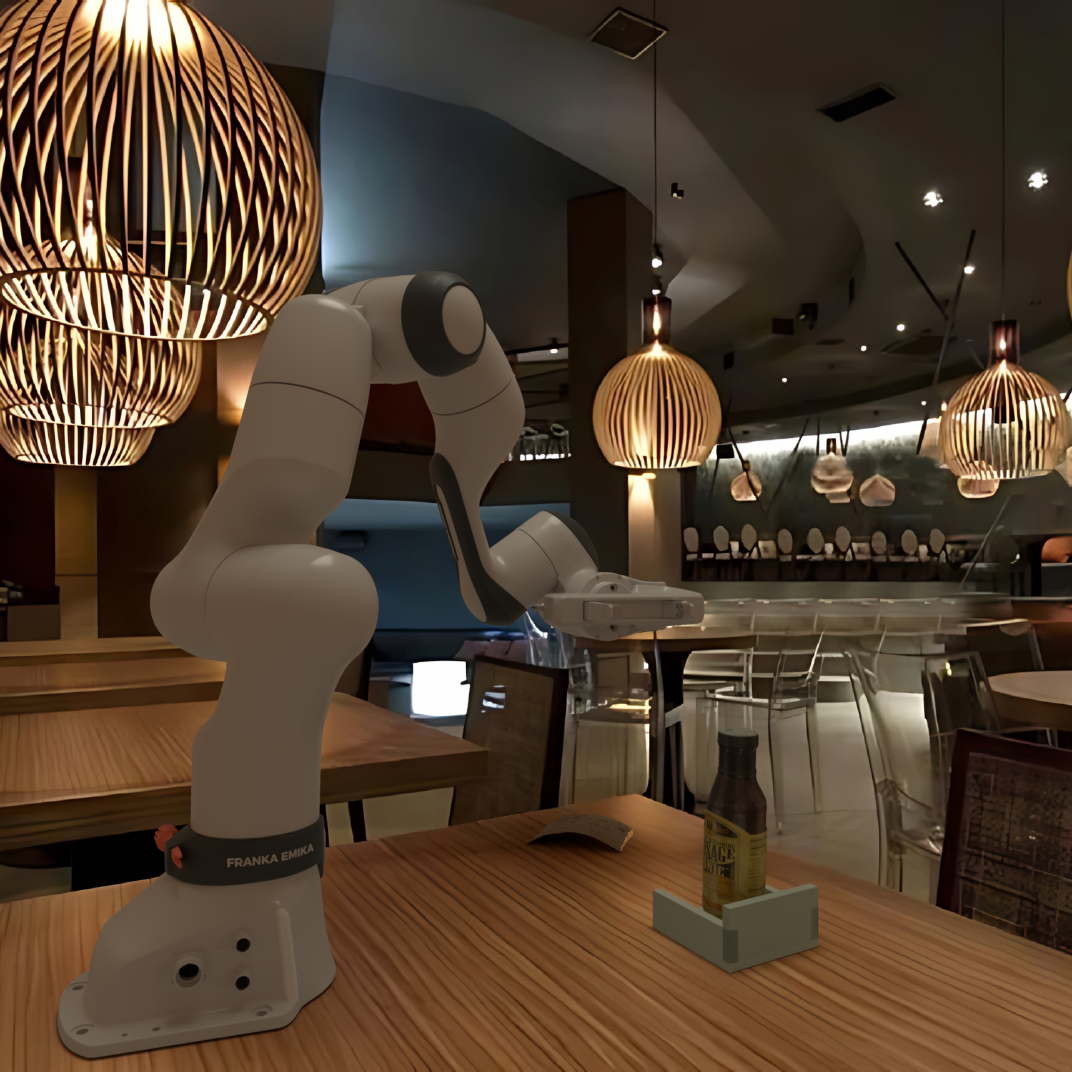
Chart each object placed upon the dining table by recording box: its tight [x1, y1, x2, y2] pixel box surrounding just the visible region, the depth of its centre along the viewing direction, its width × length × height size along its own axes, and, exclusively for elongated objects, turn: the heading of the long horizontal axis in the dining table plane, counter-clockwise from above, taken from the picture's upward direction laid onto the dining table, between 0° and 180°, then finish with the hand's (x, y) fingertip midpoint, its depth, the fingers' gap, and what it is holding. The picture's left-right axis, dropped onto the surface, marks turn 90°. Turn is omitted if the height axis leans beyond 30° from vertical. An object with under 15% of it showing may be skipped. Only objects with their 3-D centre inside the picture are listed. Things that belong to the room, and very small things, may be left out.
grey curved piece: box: [526, 813, 633, 853], centre depth 119 cm, size 14×10×3 cm
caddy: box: [652, 883, 819, 974], centre depth 88 cm, size 12×12×6 cm
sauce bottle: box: [701, 726, 768, 920], centre depth 88 cm, size 6×6×20 cm
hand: (652, 611), depth 100 cm, fingers open, 8 cm apart
